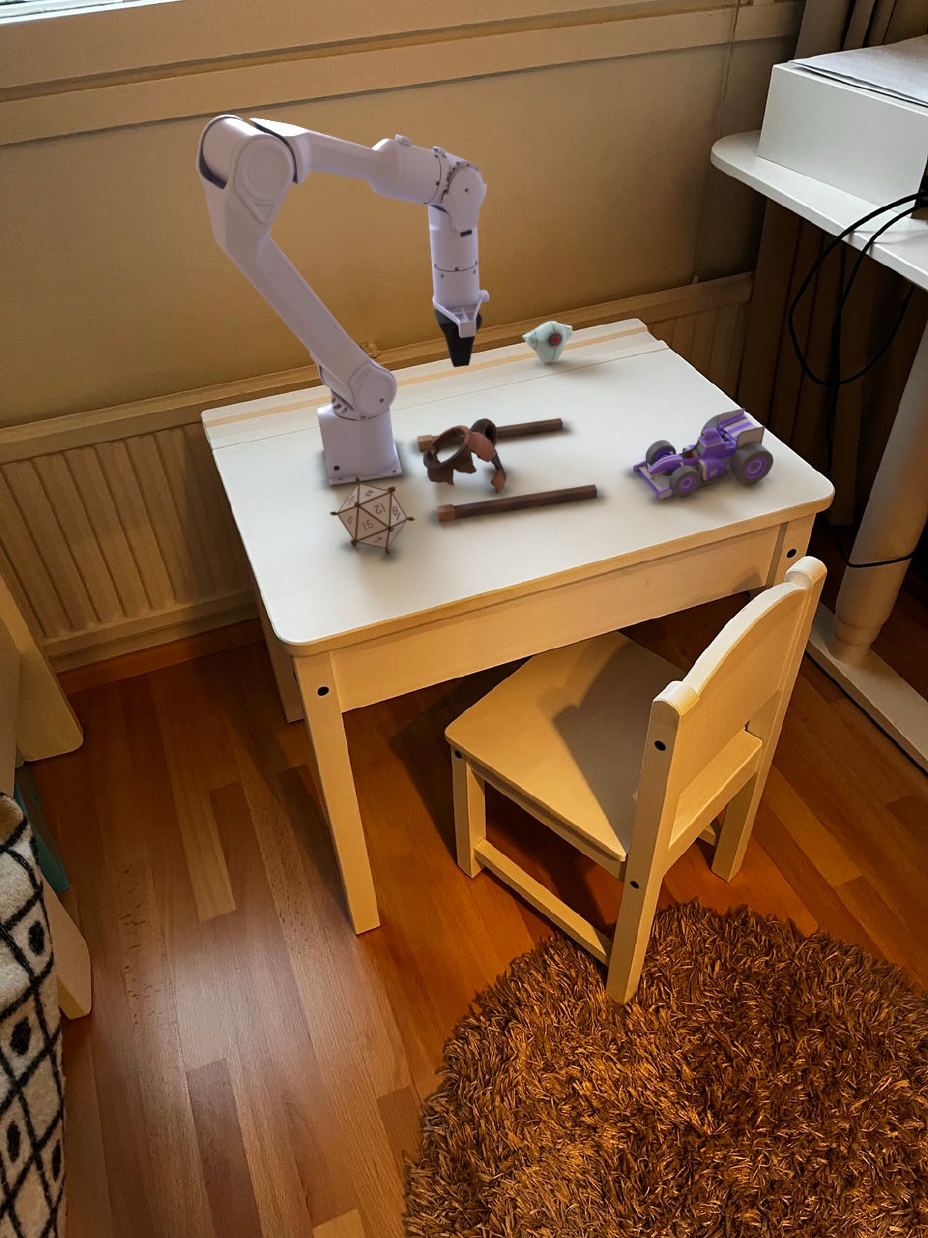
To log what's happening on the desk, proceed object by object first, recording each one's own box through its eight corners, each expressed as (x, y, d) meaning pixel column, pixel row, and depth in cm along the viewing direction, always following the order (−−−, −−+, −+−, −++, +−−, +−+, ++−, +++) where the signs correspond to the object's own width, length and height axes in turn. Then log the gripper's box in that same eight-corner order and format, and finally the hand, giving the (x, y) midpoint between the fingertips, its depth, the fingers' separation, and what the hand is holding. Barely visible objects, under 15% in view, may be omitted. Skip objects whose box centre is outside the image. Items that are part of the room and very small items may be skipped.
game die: (366, 561, 112) (334, 485, 111) (429, 537, 111) (397, 459, 109) (346, 575, 104) (311, 493, 102) (414, 549, 102) (379, 465, 100)
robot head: (568, 352, 141) (569, 310, 137) (579, 364, 138) (581, 322, 134) (520, 362, 140) (520, 320, 135) (530, 374, 137) (530, 332, 132)
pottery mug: (498, 511, 113) (461, 466, 108) (441, 519, 119) (404, 477, 114) (529, 441, 119) (495, 395, 114) (473, 452, 125) (439, 409, 120)
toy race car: (627, 466, 118) (631, 422, 114) (729, 441, 121) (737, 398, 117) (662, 507, 112) (668, 462, 107) (770, 480, 115) (780, 435, 110)
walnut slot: (439, 522, 112) (438, 512, 111) (417, 445, 124) (416, 436, 123) (597, 497, 114) (597, 488, 113) (560, 424, 126) (560, 415, 125)
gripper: (499, 281, 107) (501, 386, 116) (475, 235, 117) (479, 335, 126) (440, 289, 106) (447, 394, 115) (421, 242, 116) (428, 342, 126)
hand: (460, 363), depth 121 cm, fingers closed
